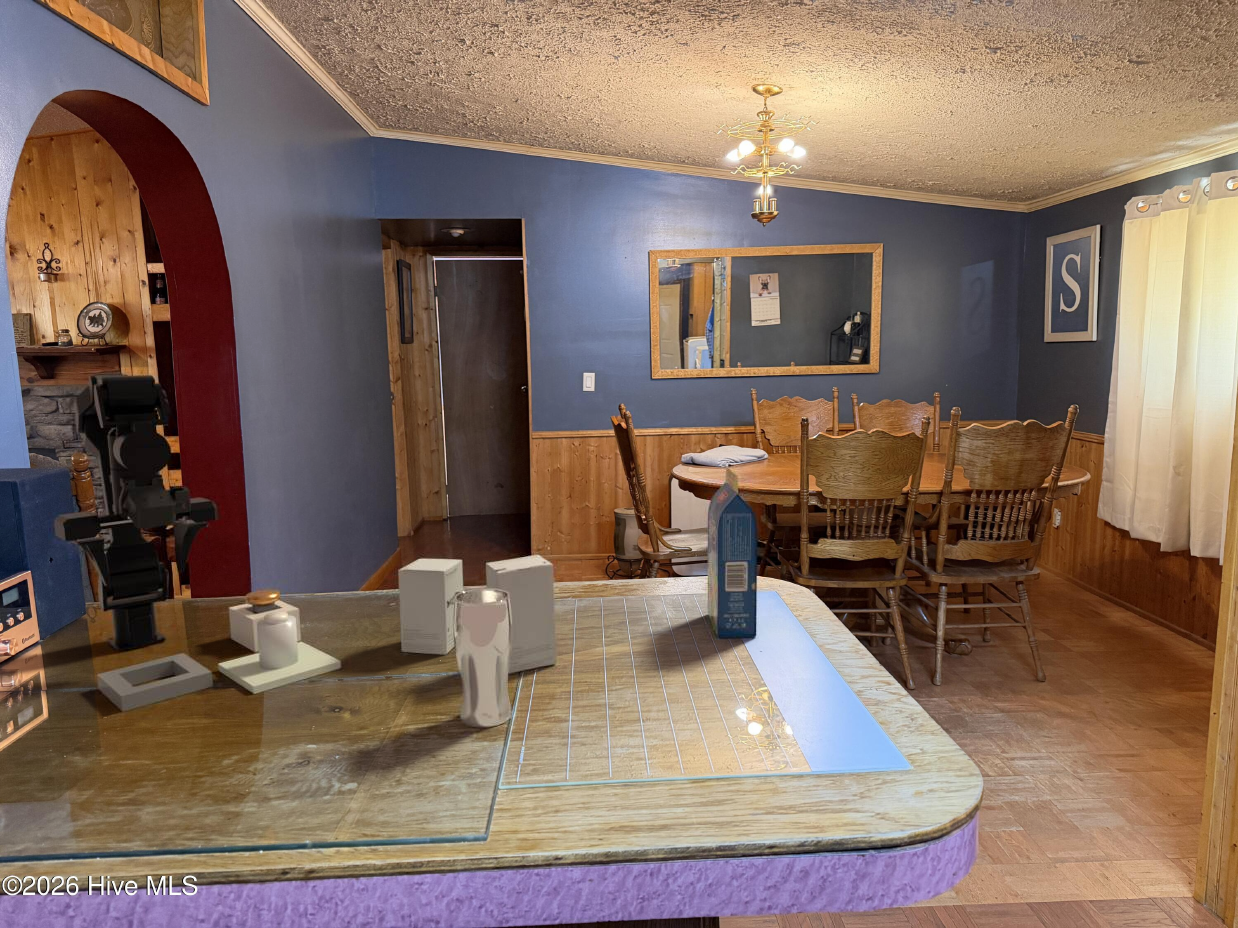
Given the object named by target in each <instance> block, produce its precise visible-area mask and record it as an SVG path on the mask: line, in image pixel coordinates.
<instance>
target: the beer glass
mask: <svg viewBox="0 0 1238 928" xmlns="http://www.w3.org/2000/svg"><path fill="white" fill-rule="evenodd" d="M453 635H454V652H455V656H456V661H457V666H458V670H459V674H460V679H461V684H462V703H461V708H460V718H459V719H460V721H461V722H462V724H464V725H465V726H467V727H472V728H478V729H479V728H480V729H481V728H484V729H485V728H493V727H497V726H500V725H503V724H505V723H506V722H508V721H509V719H511V717H512V713H513V712H512V707H511V702H510V697H509V692H508V691H509V689H508V684H509V683H508V679H509V674H510V673H509V666H510V659H511V652H512V642H513V622H512V610H511V602H510V593H509V592H507V591H505V590H502V589H496V588H487V587H482V588H481V587H480V588H473V589H471V588H470V589H467V590H463V592H460V593H458V594H456V595H455V596H454V613H453ZM508 673H509V674H508Z"/></svg>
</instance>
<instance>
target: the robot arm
mask: <svg viewBox="0 0 1238 928" xmlns="http://www.w3.org/2000/svg"><path fill="white" fill-rule="evenodd" d="M74 403H75V404H74V420H75V421H74V423H75V426H76V428H75V429H76V434H80V435H81V437H82V442H83V447H84V449H85V450H87V451H88V453H90V454H91V455H92V456H93V457H94V458H95V459H96V460H97V462H98V463H97V464H98V469H99V475H100V482H101V489H102V496H103V501H104V507H105V514H104V515H98V514H95V513H93V512H91V511H88V510H87V511H79V512H71V513H65V514H63V513H62V514H59V515H57V517H56V518H55V519H54V533H55V536H56V537H58V538H59V539H61V540H63V541H65V542H70V543H71V544H73V545H76V546H80V547H81V548H82V550H83V551H84V552H85V553H86V555H87V557H89V560H90V561H91V563H92V565H93V567H94V568H95V570H96V572H97V573H98V586H97V594H98V601H99V606H100V609H101V610H102V612H103V613H104V612H108V611H111V615H112V616H111V617H112V624H113V627H112V628H113V636H114V637H109V638H107V639H106V640H107V643H108V644H109V645H110V646H112V647H113V648H114V649H115V650H117V651H118V652H123V651H126V650H127V651H128V650H131V649H135V648H139V647H140V648H141V647H144V646H147V645H152V644H157V643H161V642H164V641H165V642H166V639H167V637H166V636H164V635H163V634H161V633H160V632H158V626H157V625H158V624H157V615H156V614H157V613H156V603H159V602H162V603H163V602H167V599H169V598H170V595H169V594H170V593H169V582H170V571H169V570H168V569H167V568H166V566H165V564H164V562H160V561H159V560H160V559H159V555H158V551H157V546H156V545H155V544H154V543H153V542H152V541H148V540H147V539H146V538H145V537H144V536H143V532H142V530H148V529H151V528H154V527H160V526H165V527H169V526H170V527H172V526H173V536H174V537H173V538H174V552H175V553H174V554H175V564H176V569H177V572H178V573H180V574H181V573H184V571H185V567H186V565H187V561H188V558H189V555H190V551H191V547H192V545H193V542H194V541H195V538H196V536H197V535H198V534H199V532H200V531H201V530H202V529H203V528H204V529H205V528H208V527H209V524H210V523H209V522H212V521H217V520H218V519H219V517H218V516H219V513H218V507H217V504H216V503H215V501H213V500H212V499H211V500H210V499H207V498H204V497H194V498H191V496H190V495H191V494H190V490H189V488H188V487H187V486H186V485H185V486H184V485H183V486H176V487H175V486H174V487H171V488H170V489H167V488H166V487H165V484H164V479H163V475H162V474H160V473H161V471H162V470H163V469H165V468H166V466H168V464H169V462H170V460H171V457H172V448H171V445H170V443H169V441H168V440H167V439H166V438H165V437H164V435H162V434H160V433H159V432H158V430H157V426H168V425H169V424H170V420H171V419H172V411H171V407H170V403H169V400H168V396H167V393H166V391H165V390H164V389H163V387H162V385H161V383H160V382H156V379H155V377H154V376H153V375H152V374H149V375H148V374H146V375H144V374H143V375H142V374H141V375H128V374H124V373H122V372H108V373H107V372H106V373H105V372H104V373H96V372H95V373H94V374H90V375H89V376H88V385H87V386H86V387H85V388H84V389H83V390H82V391H81V392H80V393H79V394H78V395H77V396H76V397H75V401H74ZM102 530H108V535H109V540H110V544H109V547H108V548H107V550H106V552H105V538H103V537H101V536H99V535H100V533H101V531H102ZM108 598H109V599H108Z"/></svg>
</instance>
